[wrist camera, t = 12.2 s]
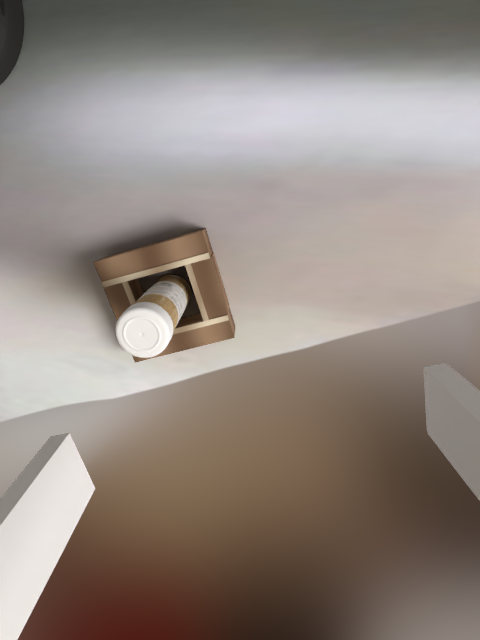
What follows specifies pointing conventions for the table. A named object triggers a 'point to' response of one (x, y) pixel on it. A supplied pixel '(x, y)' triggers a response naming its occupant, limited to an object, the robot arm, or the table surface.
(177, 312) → the sprinkles bottle
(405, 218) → the table surface
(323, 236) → the table surface
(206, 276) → the socket
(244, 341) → the table surface
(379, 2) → the table surface
